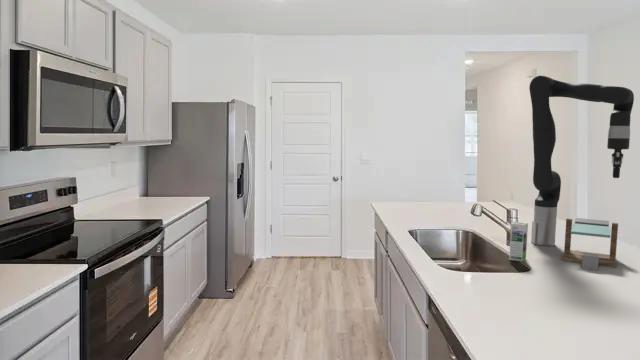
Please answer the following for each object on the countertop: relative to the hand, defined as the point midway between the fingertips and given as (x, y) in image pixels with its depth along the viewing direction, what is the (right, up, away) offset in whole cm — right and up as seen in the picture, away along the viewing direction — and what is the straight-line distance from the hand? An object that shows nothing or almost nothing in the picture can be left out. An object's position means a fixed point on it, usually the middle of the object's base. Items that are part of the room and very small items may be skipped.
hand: (615, 177), depth 193 cm
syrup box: (-44, -32, -8) cm, 55 cm away
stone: (-21, -29, -19) cm, 40 cm away
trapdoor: (-13, -23, -4) cm, 27 cm away
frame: (-14, -32, -5) cm, 36 cm away
